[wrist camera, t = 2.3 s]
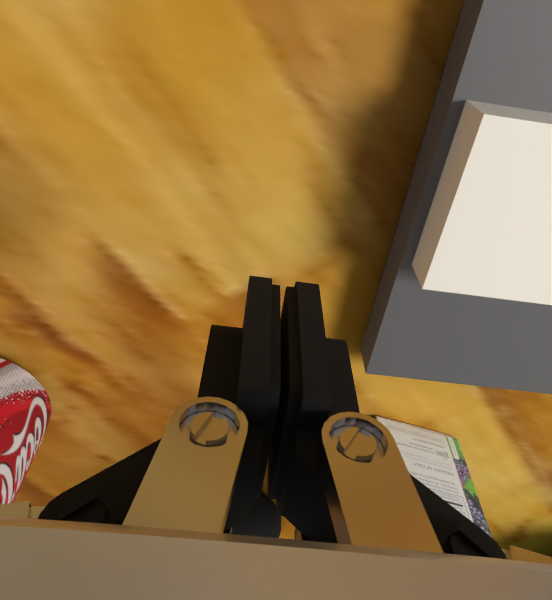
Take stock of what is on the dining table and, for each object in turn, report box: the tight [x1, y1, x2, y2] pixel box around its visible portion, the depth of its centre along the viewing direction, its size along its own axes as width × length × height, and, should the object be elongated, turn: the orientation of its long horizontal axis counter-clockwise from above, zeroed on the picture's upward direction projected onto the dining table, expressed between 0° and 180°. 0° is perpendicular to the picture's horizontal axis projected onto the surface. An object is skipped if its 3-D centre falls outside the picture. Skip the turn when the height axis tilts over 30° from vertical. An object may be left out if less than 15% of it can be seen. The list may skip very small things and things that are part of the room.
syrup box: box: [374, 416, 492, 538], centre depth 27 cm, size 6×6×14 cm
